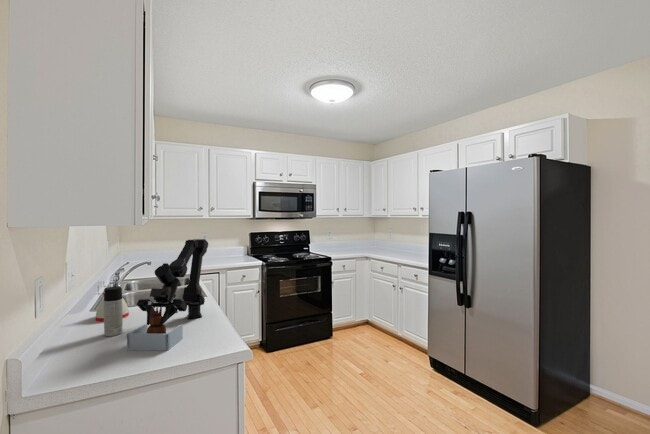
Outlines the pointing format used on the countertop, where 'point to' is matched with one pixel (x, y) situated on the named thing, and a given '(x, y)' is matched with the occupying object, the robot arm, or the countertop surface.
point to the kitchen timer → (101, 310)
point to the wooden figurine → (156, 323)
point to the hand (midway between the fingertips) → (154, 324)
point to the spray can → (113, 311)
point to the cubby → (153, 339)
